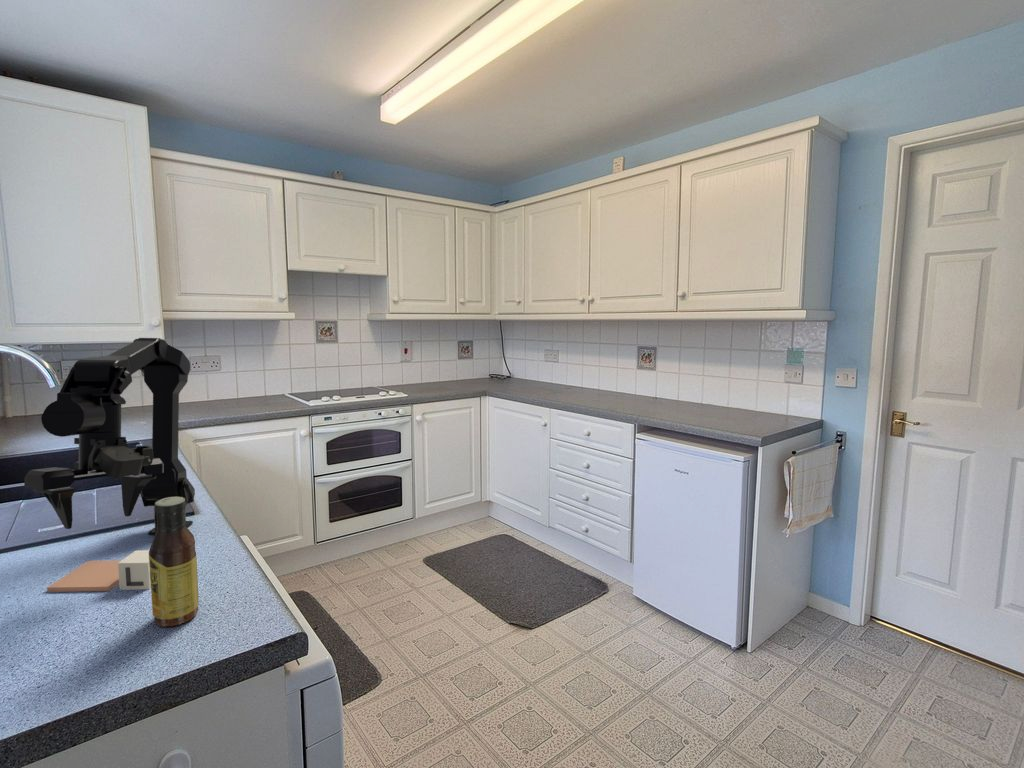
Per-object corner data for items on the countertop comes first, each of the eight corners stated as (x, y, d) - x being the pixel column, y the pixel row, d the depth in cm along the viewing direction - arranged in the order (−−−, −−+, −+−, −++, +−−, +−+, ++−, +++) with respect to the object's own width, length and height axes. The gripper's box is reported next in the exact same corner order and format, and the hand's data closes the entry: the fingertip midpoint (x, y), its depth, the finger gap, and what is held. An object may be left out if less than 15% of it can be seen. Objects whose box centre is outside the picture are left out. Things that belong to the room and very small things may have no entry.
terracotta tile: (88, 564, 100) (88, 560, 100) (143, 564, 101) (143, 560, 101) (47, 591, 90) (46, 587, 90) (108, 590, 91) (108, 586, 91)
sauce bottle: (158, 611, 85) (151, 494, 83) (201, 604, 88) (196, 490, 85) (148, 634, 79) (140, 509, 77) (195, 625, 82) (190, 504, 79)
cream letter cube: (137, 576, 97) (135, 550, 96) (165, 575, 97) (164, 550, 96) (119, 590, 92) (117, 563, 91) (149, 589, 92) (147, 563, 91)
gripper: (65, 437, 78) (63, 541, 78) (184, 429, 96) (183, 514, 95) (22, 435, 82) (21, 534, 82) (144, 427, 100) (143, 509, 100)
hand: (99, 522), depth 90 cm, fingers open, 9 cm apart
